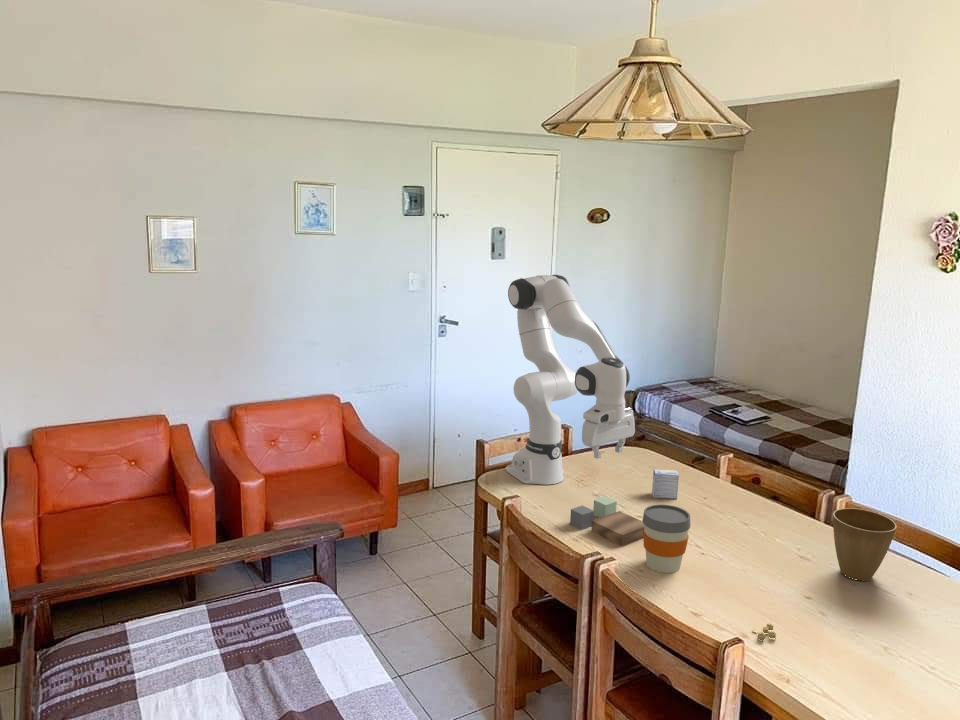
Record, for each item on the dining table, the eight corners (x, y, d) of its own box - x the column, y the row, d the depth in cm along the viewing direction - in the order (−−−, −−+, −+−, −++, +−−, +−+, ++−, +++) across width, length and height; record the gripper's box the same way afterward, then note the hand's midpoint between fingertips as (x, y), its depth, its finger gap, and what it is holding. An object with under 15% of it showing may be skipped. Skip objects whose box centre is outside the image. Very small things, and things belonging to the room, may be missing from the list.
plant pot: (864, 594, 187) (872, 535, 184) (814, 568, 200) (820, 513, 197) (900, 581, 194) (909, 524, 191) (850, 557, 207) (857, 503, 204)
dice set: (771, 631, 172) (772, 623, 171) (780, 644, 167) (781, 636, 166) (749, 631, 172) (750, 623, 171) (758, 643, 167) (759, 636, 166)
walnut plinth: (591, 533, 221) (591, 520, 220) (618, 523, 228) (619, 510, 227) (621, 548, 211) (622, 535, 210) (649, 537, 218) (650, 524, 218)
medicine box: (675, 494, 250) (677, 470, 248) (677, 499, 246) (679, 474, 244) (651, 493, 251) (653, 468, 249) (653, 498, 246) (655, 473, 245)
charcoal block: (570, 524, 225) (570, 509, 224) (581, 520, 228) (582, 505, 227) (581, 530, 222) (582, 514, 221) (593, 526, 225) (594, 510, 224)
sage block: (593, 514, 233) (593, 499, 232) (604, 511, 236) (604, 496, 235) (604, 520, 229) (605, 505, 228) (615, 516, 232) (616, 501, 231)
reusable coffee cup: (688, 558, 205) (692, 508, 202) (685, 579, 193) (689, 526, 190) (642, 551, 209) (646, 501, 206) (636, 571, 197) (640, 519, 194)
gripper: (625, 404, 234) (623, 446, 237) (579, 414, 222) (577, 458, 224) (640, 408, 229) (638, 451, 232) (594, 419, 217) (592, 464, 219)
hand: (608, 454), depth 228 cm, fingers open, 8 cm apart
